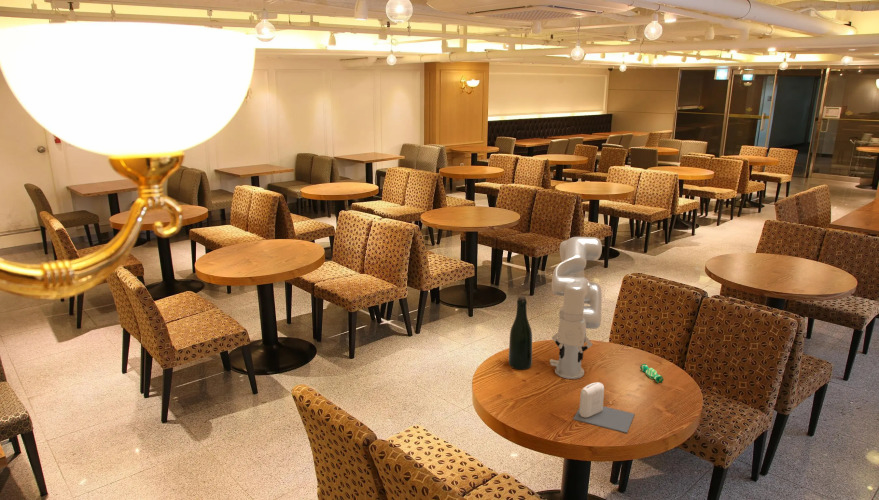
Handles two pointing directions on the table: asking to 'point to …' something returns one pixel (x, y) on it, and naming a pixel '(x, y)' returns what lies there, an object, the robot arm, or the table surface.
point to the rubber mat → (608, 419)
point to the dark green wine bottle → (520, 338)
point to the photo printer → (591, 399)
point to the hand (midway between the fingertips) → (570, 358)
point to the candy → (651, 373)
